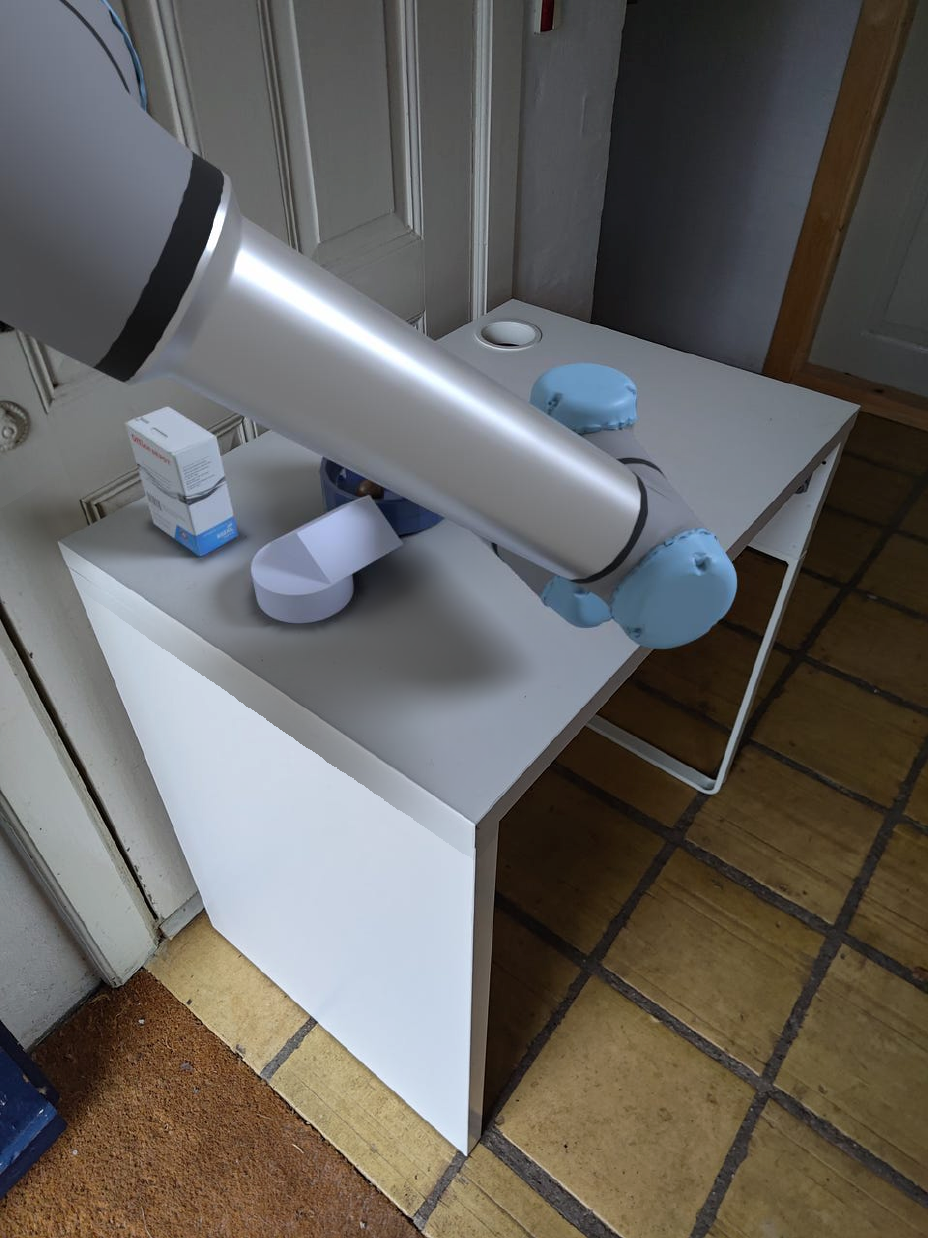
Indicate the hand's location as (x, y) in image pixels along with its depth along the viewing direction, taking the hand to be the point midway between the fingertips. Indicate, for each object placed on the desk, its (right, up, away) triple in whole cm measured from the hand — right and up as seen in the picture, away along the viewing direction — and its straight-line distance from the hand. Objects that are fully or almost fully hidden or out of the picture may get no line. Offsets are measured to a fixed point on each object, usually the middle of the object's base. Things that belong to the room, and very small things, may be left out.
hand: (376, 390), depth 91 cm
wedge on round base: (-4, -21, -8) cm, 23 cm away
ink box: (-18, -15, -2) cm, 24 cm away
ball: (0, -11, -1) cm, 11 cm away
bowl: (+2, -11, +2) cm, 11 cm away
